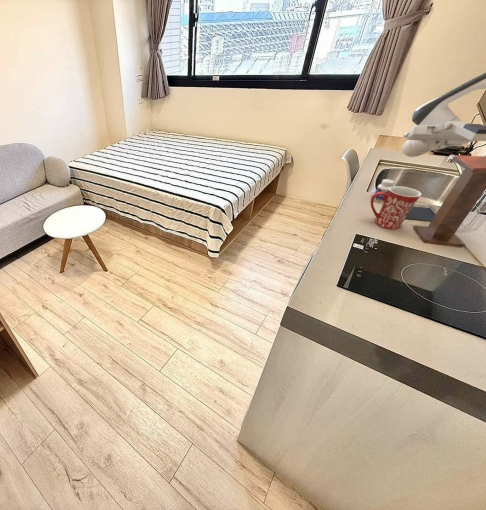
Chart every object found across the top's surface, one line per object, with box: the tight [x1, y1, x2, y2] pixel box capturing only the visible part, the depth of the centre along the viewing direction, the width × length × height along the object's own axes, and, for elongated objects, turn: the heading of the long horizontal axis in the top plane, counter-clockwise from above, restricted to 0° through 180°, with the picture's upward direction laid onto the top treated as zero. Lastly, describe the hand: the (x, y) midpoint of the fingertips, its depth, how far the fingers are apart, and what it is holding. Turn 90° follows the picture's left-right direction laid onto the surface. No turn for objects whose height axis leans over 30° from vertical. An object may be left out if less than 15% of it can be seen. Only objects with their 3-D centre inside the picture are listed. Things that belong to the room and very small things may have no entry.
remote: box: [447, 120, 486, 142], centre depth 90 cm, size 4×18×3 cm, turn 159°
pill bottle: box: [373, 178, 395, 204], centre depth 117 cm, size 5×5×9 cm
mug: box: [370, 185, 422, 230], centre depth 101 cm, size 13×9×14 cm
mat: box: [404, 205, 436, 223], centre depth 109 cm, size 12×12×1 cm
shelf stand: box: [412, 154, 486, 248], centre depth 88 cm, size 10×12×26 cm
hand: (459, 125), depth 93 cm, fingers closed on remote, 4 cm apart
